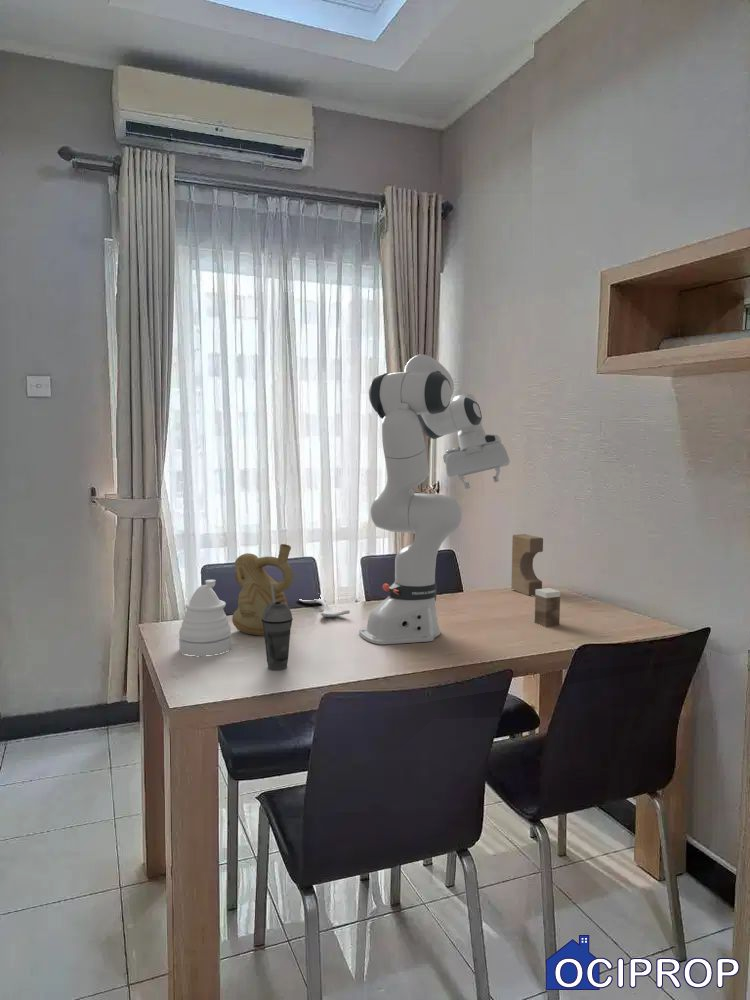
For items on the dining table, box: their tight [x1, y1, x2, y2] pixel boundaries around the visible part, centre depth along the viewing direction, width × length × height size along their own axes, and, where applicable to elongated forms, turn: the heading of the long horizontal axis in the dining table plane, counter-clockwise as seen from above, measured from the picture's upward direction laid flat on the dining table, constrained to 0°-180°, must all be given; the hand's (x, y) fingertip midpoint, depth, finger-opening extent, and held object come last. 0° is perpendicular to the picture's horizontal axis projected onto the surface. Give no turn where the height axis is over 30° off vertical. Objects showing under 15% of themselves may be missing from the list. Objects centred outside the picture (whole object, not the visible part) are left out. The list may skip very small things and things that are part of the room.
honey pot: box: [178, 579, 232, 656], centre depth 175 cm, size 13×13×18 cm
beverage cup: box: [262, 584, 294, 671], centre depth 161 cm, size 7×7×20 cm
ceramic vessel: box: [231, 543, 294, 636], centre depth 192 cm, size 17×20×25 cm
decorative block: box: [511, 533, 544, 597], centre depth 242 cm, size 11×6×20 cm, turn 23°
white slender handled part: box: [298, 594, 351, 618], centre depth 217 cm, size 9×32×4 cm, turn 22°
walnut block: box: [534, 587, 561, 628], centre depth 201 cm, size 5×5×10 cm
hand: (482, 485), depth 219 cm, fingers open, 8 cm apart
